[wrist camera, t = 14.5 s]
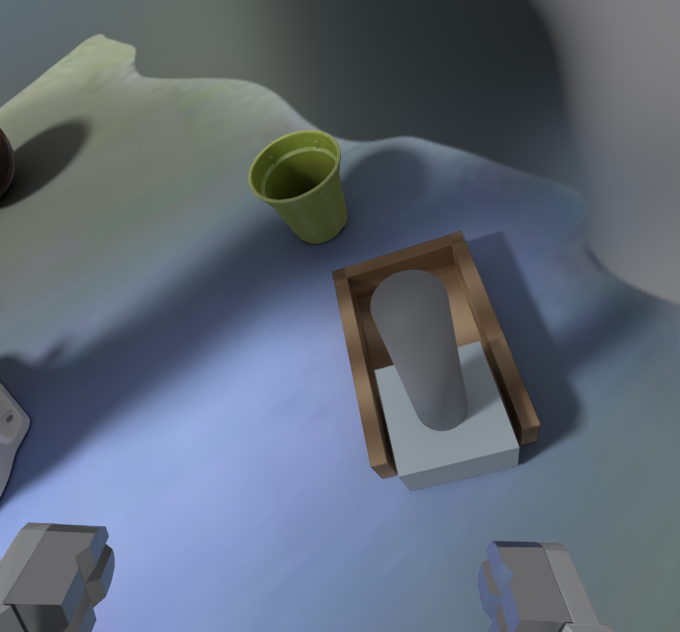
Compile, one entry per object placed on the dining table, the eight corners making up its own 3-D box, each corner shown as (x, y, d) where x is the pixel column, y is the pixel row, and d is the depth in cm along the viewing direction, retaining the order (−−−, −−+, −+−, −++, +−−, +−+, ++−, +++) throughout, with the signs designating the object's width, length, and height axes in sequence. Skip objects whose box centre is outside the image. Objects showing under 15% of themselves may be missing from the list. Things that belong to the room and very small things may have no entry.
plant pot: (285, 268, 52) (250, 214, 45) (277, 206, 57) (244, 149, 50) (370, 241, 50) (348, 180, 43) (353, 180, 56) (331, 117, 48)
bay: (343, 294, 48) (332, 271, 45) (464, 257, 46) (461, 230, 43) (382, 478, 38) (370, 466, 35) (537, 440, 36) (540, 424, 33)
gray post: (387, 394, 41) (315, 262, 25) (482, 368, 40) (467, 213, 24) (410, 491, 37) (340, 404, 21) (517, 466, 35) (527, 353, 20)
